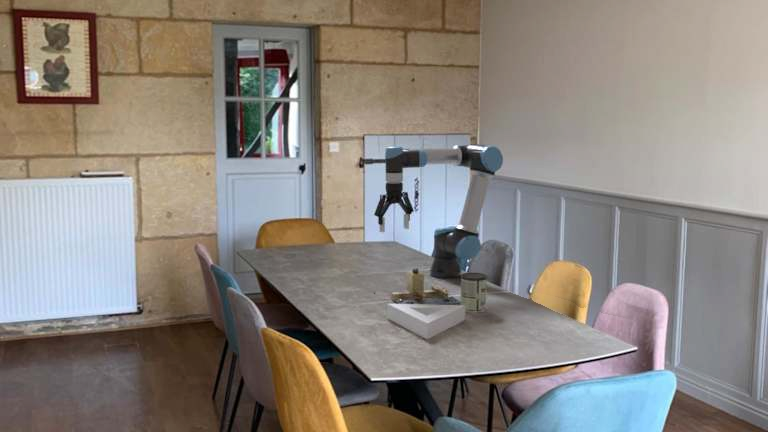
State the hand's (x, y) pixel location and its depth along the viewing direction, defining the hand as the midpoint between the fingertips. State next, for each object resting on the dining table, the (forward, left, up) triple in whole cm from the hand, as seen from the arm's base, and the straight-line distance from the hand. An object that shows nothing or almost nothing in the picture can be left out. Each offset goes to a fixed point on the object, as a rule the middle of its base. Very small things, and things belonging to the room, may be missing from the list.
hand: (394, 230), depth 345 cm
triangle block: (+9, +54, -27) cm, 61 cm away
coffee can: (-20, +41, -27) cm, 53 cm away
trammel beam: (-5, +23, -27) cm, 36 cm away
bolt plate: (-5, +30, -27) cm, 41 cm away
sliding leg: (-3, +23, -25) cm, 34 cm away
